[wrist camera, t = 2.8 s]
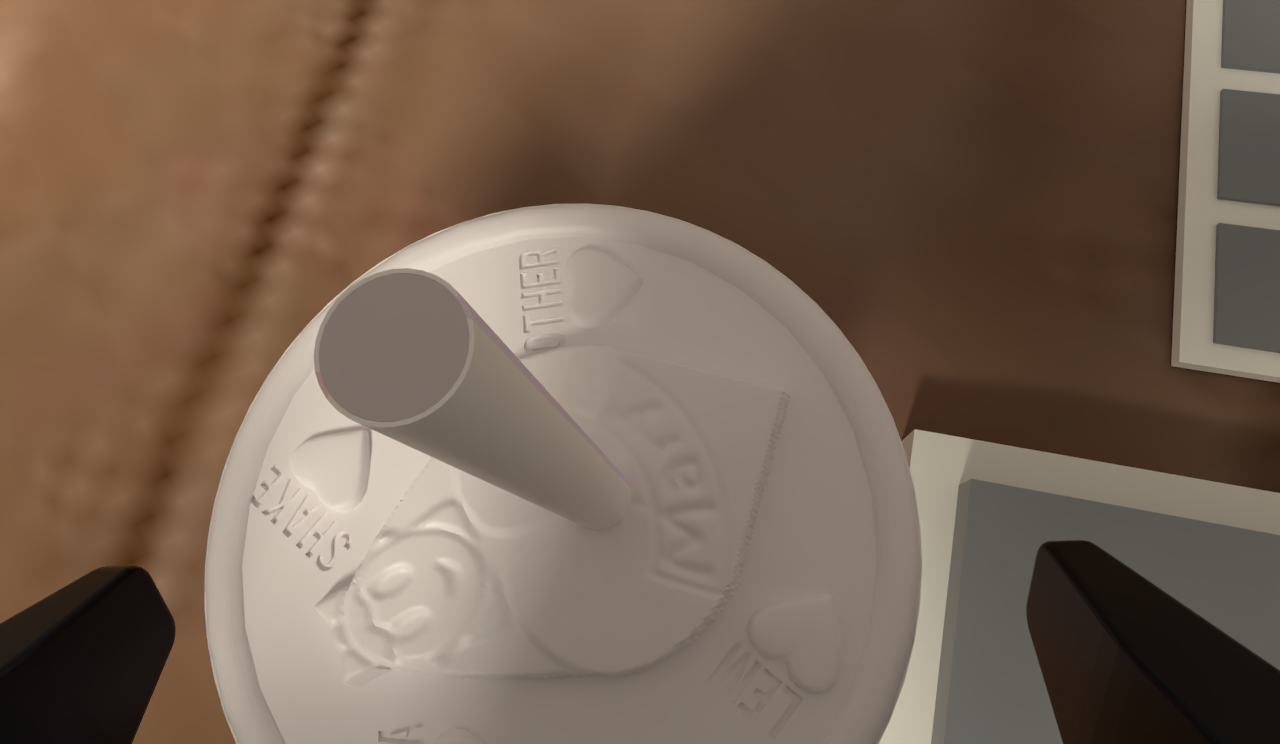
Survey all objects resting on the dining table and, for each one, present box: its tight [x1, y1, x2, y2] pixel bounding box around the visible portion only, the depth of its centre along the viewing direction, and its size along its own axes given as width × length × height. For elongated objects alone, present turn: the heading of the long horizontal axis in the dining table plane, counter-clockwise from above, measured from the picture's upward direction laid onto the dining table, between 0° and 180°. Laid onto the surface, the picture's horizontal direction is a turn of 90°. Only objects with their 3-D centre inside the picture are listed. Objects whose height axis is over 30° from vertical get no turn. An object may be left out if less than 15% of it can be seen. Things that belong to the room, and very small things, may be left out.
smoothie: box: [205, 203, 922, 744], centre depth 9 cm, size 6×6×14 cm
